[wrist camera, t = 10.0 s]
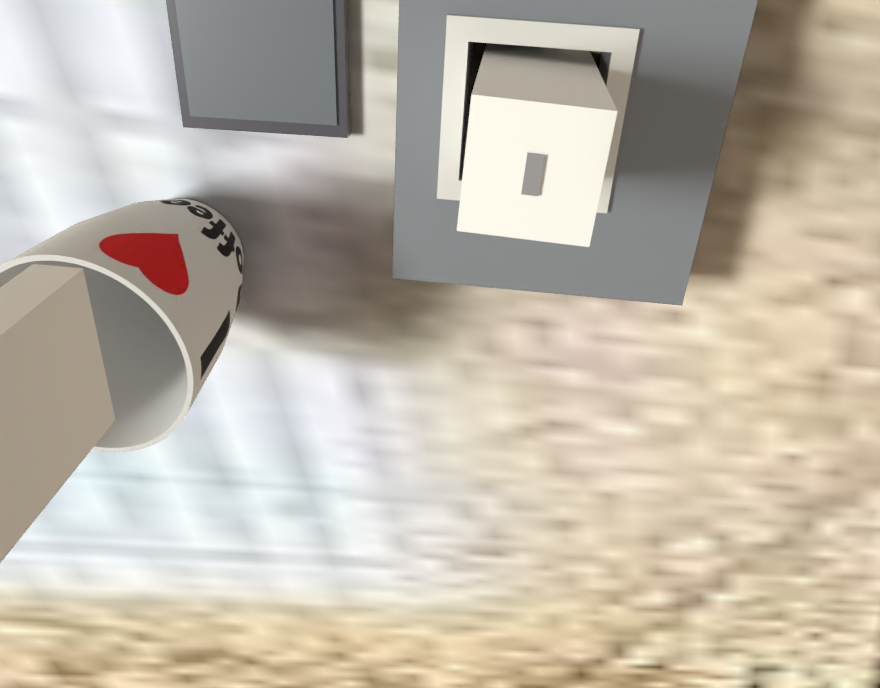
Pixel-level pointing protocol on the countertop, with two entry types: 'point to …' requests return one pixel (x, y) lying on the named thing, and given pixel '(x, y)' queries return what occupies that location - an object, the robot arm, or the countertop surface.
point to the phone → (262, 65)
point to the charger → (536, 145)
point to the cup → (151, 306)
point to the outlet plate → (631, 151)
